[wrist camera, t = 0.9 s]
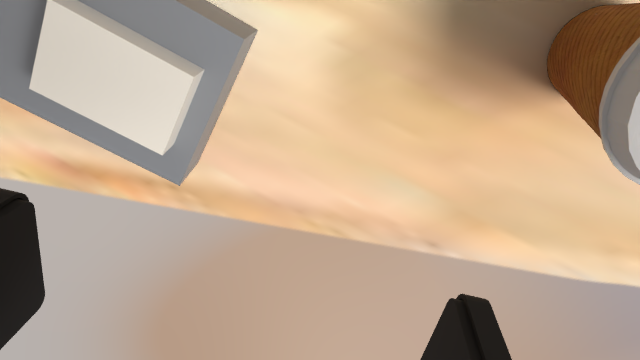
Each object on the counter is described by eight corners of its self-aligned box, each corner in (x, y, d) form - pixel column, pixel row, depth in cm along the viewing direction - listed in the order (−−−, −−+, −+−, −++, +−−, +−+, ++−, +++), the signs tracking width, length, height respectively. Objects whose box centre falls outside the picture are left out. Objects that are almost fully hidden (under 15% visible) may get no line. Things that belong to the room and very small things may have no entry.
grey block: (5, 66, 32) (-38, 78, 29) (34, -99, 27) (-15, -108, 23) (197, 163, 35) (179, 185, 31) (257, 30, 29) (244, 39, 26)
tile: (49, 80, 28) (29, 88, 26) (69, -5, 26) (47, -3, 24) (174, 144, 30) (162, 155, 28) (204, 69, 27) (193, 77, 25)
